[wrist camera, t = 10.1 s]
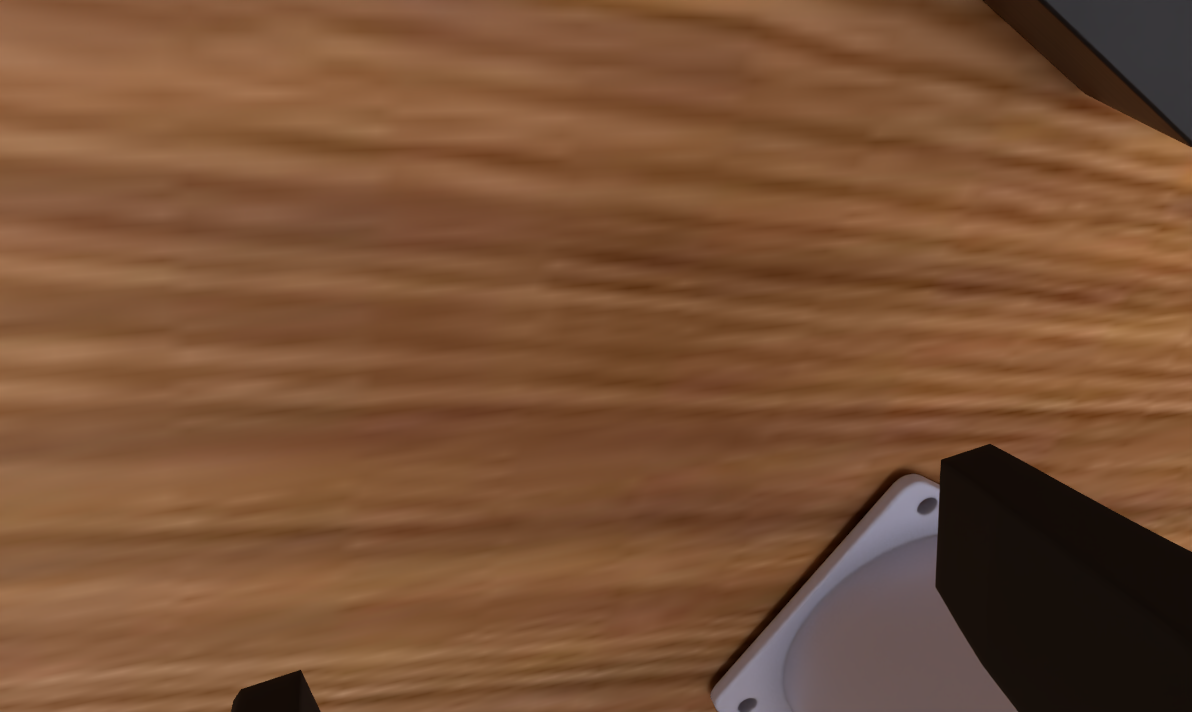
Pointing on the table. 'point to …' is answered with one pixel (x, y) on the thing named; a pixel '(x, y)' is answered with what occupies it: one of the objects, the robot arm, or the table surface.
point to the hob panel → (1117, 53)
